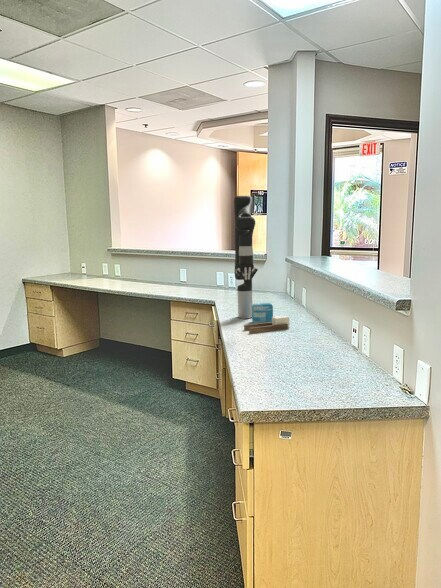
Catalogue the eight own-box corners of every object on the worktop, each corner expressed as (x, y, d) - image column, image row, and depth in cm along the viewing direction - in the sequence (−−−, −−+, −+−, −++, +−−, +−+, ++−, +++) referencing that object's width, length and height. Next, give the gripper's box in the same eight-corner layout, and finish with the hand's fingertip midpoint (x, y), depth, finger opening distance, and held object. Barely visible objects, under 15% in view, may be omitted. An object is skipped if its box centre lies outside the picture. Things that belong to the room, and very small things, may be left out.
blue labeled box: (252, 325, 247) (252, 304, 245) (252, 323, 251) (251, 303, 249) (273, 324, 246) (272, 304, 245) (272, 322, 251) (272, 302, 249)
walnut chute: (243, 331, 231) (243, 324, 231) (280, 327, 238) (280, 320, 238) (250, 336, 222) (250, 328, 221) (288, 331, 229) (288, 324, 228)
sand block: (272, 327, 234) (271, 316, 233) (285, 325, 236) (285, 315, 235) (276, 329, 229) (275, 318, 228) (289, 327, 231) (289, 317, 231)
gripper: (254, 253, 233) (255, 284, 236) (232, 254, 229) (232, 286, 232) (260, 254, 226) (260, 286, 229) (237, 255, 222) (237, 288, 225)
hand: (246, 286), depth 230 cm, fingers closed
